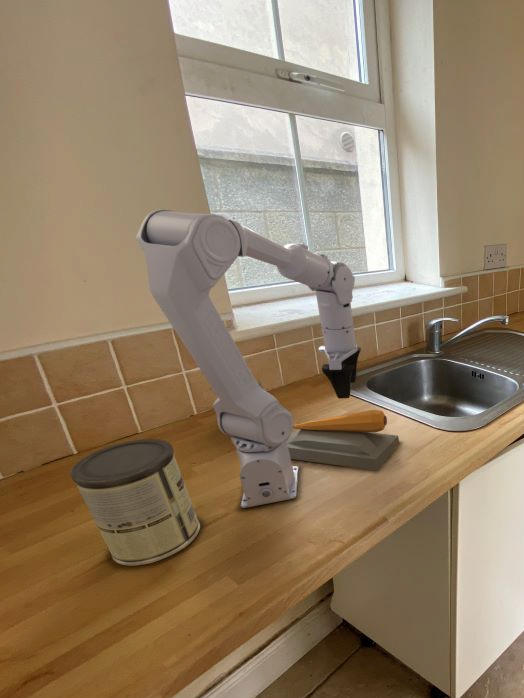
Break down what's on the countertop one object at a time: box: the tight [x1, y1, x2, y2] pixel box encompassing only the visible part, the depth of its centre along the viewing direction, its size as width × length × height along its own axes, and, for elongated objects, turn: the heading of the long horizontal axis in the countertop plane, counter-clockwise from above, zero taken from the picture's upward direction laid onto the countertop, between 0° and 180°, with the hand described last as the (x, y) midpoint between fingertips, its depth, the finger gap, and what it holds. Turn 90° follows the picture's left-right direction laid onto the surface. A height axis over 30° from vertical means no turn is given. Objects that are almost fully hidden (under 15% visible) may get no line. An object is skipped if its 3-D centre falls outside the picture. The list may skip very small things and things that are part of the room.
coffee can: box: [69, 438, 201, 567], centre depth 62 cm, size 10×10×14 cm
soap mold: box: [287, 429, 400, 471], centre depth 88 cm, size 10×20×4 cm, turn 82°
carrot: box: [293, 409, 388, 433], centre depth 88 cm, size 20×4×4 cm, turn 95°
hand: (347, 389), depth 92 cm, fingers open, 7 cm apart
